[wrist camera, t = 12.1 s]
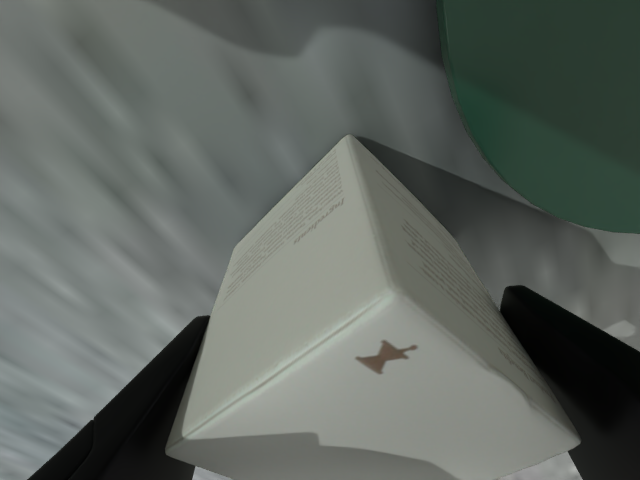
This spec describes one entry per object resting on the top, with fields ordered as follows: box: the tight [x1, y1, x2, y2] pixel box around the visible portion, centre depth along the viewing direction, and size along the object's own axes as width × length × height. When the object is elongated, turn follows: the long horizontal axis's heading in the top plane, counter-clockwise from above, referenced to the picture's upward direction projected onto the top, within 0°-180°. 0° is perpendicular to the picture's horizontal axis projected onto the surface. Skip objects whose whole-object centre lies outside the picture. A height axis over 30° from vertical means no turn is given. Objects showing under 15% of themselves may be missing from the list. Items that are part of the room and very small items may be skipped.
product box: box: [165, 134, 581, 480], centre depth 9 cm, size 6×6×7 cm
